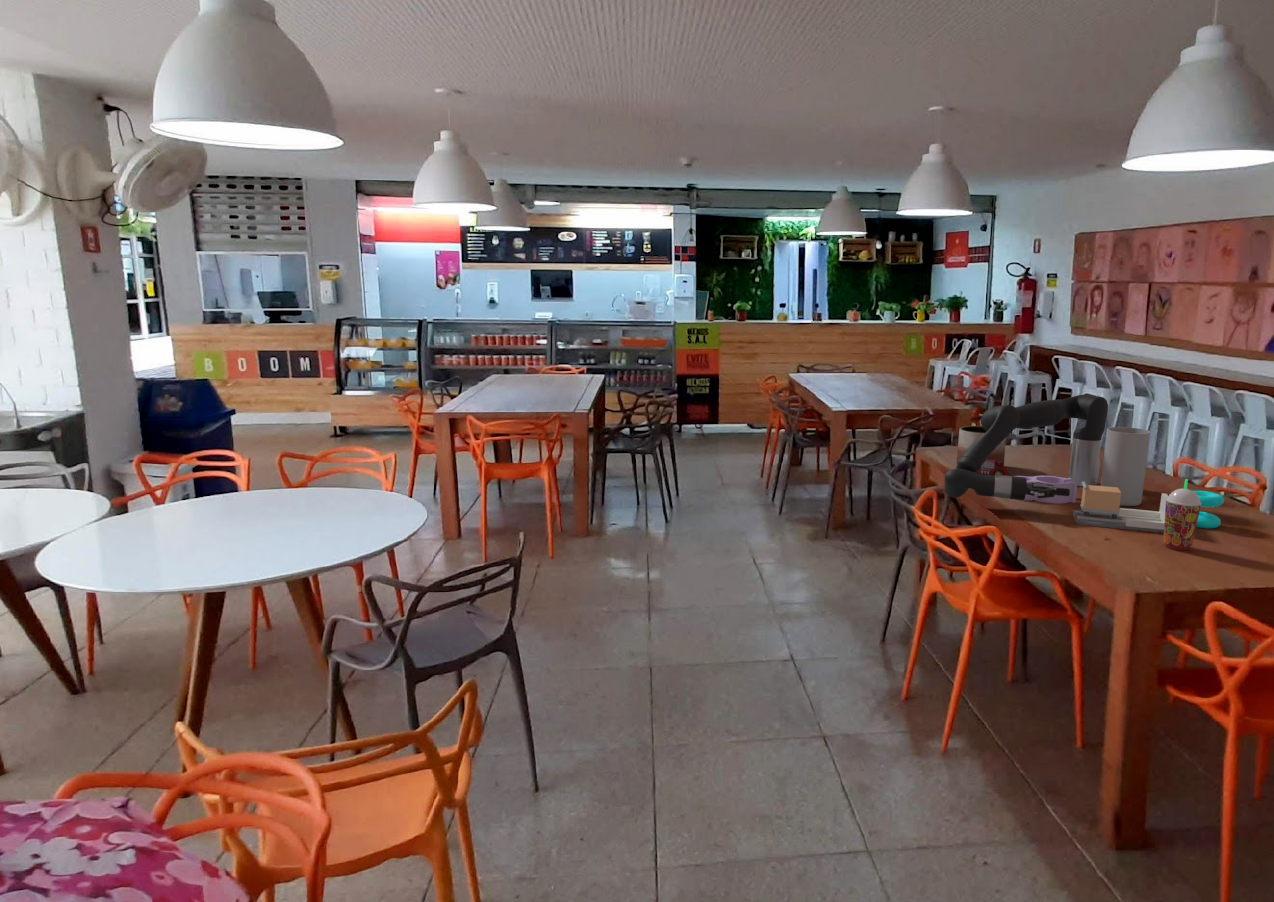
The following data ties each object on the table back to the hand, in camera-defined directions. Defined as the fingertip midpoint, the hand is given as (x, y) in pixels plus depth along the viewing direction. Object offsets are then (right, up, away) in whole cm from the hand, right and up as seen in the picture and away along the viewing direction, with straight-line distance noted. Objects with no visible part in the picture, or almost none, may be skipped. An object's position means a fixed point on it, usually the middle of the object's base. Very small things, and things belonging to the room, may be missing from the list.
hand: (1069, 492), depth 255 cm
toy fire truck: (-7, -1, +39) cm, 40 cm away
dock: (+14, -9, -4) cm, 17 cm away
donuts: (+37, -10, -6) cm, 39 cm away
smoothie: (+16, -14, -27) cm, 35 cm away
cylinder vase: (+28, -4, +19) cm, 34 cm away
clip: (+4, -4, +25) cm, 25 cm away
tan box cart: (+8, -7, -2) cm, 11 cm away
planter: (+2, +6, +72) cm, 72 cm away
